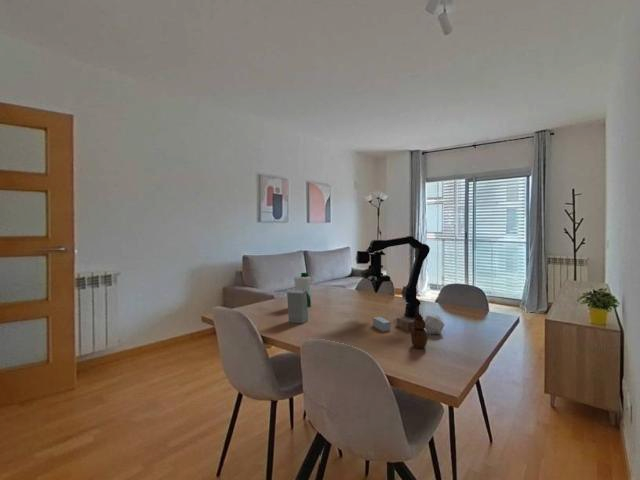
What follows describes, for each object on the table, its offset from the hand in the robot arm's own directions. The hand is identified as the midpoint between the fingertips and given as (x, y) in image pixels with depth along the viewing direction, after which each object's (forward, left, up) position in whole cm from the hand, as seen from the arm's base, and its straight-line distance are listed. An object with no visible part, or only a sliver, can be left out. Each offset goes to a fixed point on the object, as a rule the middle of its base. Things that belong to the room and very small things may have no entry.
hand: (376, 292), depth 183 cm
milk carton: (+30, -35, -13) cm, 48 cm away
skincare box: (+42, -6, -13) cm, 44 cm away
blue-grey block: (+8, +14, -11) cm, 19 cm away
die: (-10, +34, -13) cm, 38 cm away
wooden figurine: (+7, +46, -13) cm, 48 cm away
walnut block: (-3, +18, -11) cm, 21 cm away
